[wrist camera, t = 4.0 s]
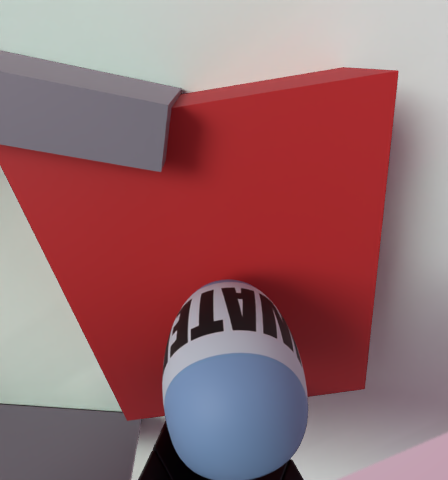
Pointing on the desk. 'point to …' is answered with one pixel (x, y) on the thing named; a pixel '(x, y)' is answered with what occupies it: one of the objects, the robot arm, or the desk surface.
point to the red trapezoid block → (227, 259)
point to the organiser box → (97, 149)
